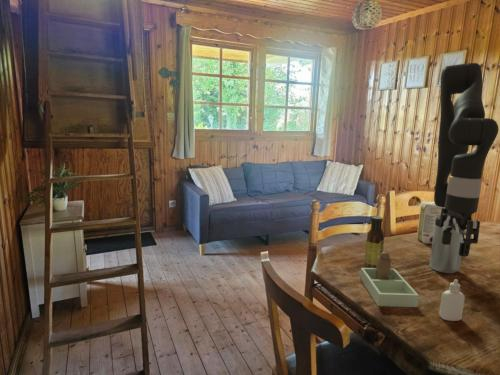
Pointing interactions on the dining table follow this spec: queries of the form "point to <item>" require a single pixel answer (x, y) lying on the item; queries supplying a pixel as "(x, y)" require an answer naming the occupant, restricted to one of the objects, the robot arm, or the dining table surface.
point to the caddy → (388, 284)
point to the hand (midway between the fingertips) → (454, 249)
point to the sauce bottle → (374, 242)
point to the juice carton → (427, 221)
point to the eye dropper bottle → (452, 303)
